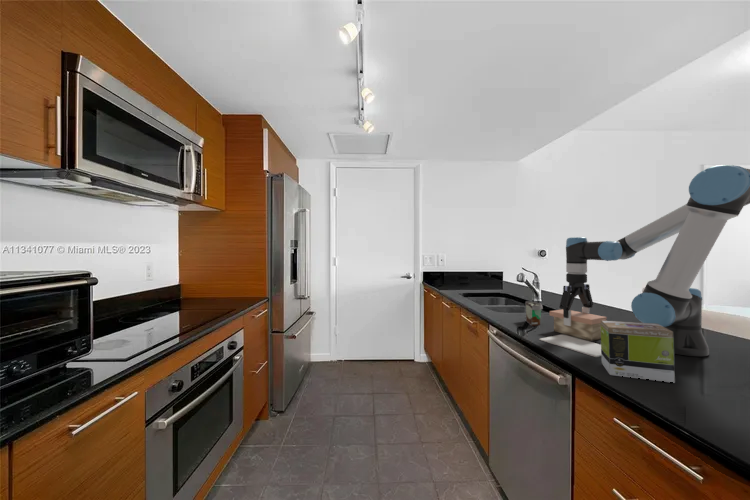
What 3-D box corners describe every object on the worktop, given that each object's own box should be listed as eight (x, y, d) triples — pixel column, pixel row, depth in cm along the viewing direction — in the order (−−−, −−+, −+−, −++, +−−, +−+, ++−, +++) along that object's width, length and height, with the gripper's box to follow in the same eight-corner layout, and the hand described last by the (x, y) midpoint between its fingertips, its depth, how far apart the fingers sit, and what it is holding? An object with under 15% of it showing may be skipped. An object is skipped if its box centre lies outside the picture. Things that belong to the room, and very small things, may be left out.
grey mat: (620, 351, 112) (620, 349, 112) (596, 357, 106) (596, 355, 106) (562, 335, 132) (562, 334, 132) (539, 339, 126) (539, 338, 126)
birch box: (601, 338, 127) (601, 321, 126) (591, 341, 124) (591, 323, 124) (564, 329, 141) (564, 314, 141) (553, 331, 138) (553, 315, 138)
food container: (546, 327, 145) (546, 306, 145) (532, 326, 147) (532, 305, 147) (538, 320, 158) (538, 301, 157) (525, 320, 159) (525, 301, 159)
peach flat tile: (606, 324, 126) (606, 317, 126) (591, 327, 122) (591, 319, 122) (564, 315, 143) (564, 309, 143) (549, 317, 139) (549, 311, 139)
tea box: (660, 371, 94) (660, 323, 94) (675, 384, 85) (675, 331, 85) (600, 363, 100) (600, 318, 100) (608, 375, 91) (608, 326, 91)
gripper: (585, 271, 140) (585, 318, 141) (549, 273, 131) (549, 324, 131) (602, 272, 134) (603, 322, 134) (566, 275, 124) (566, 329, 124)
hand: (576, 323), depth 132 cm, fingers open, 11 cm apart
